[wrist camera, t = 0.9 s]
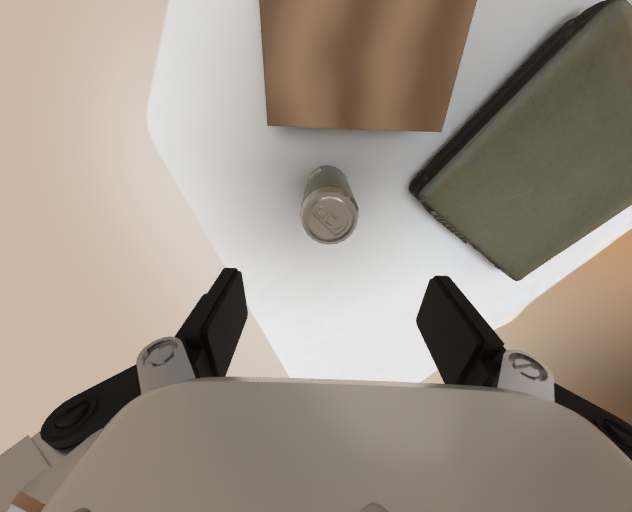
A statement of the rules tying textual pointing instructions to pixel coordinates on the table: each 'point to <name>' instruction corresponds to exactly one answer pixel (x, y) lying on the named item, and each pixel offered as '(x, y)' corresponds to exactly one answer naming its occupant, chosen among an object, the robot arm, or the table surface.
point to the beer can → (328, 206)
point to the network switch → (544, 149)
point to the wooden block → (362, 62)
